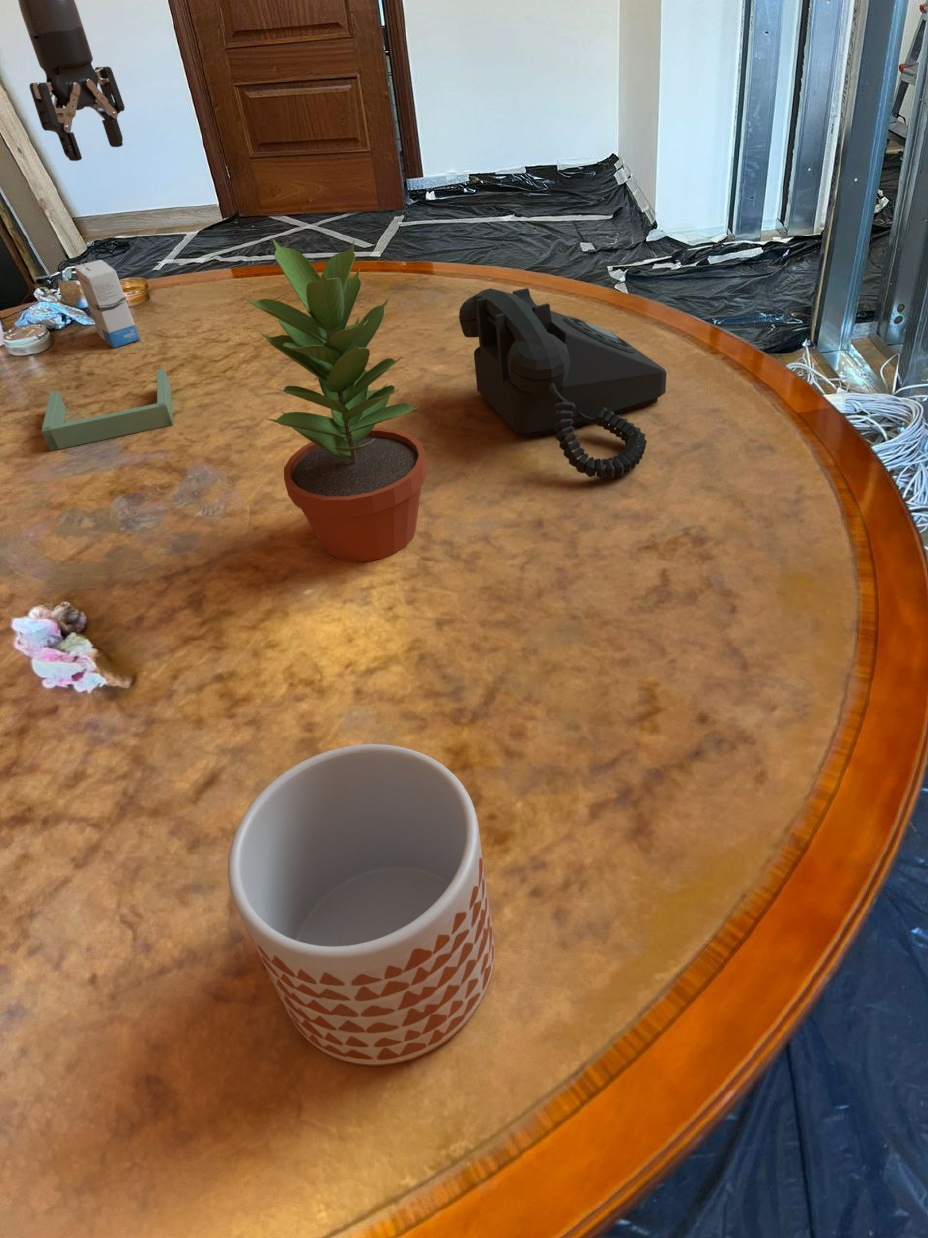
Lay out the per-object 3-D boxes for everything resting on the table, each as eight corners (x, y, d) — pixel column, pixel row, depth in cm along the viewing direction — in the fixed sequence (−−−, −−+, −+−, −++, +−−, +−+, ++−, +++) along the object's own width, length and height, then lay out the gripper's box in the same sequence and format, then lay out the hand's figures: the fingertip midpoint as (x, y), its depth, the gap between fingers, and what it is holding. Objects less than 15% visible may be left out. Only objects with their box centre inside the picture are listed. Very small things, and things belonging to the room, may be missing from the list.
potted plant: (415, 582, 84) (363, 272, 65) (279, 567, 89) (192, 271, 70) (460, 501, 95) (426, 214, 76) (336, 491, 99) (274, 217, 80)
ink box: (141, 340, 144) (116, 268, 136) (112, 349, 142) (85, 276, 135) (126, 327, 150) (101, 257, 142) (98, 335, 148) (72, 265, 140)
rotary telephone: (732, 450, 98) (747, 320, 88) (560, 499, 93) (557, 368, 84) (599, 349, 123) (599, 240, 113) (458, 385, 118) (446, 274, 109)
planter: (293, 875, 60) (245, 754, 52) (487, 854, 59) (470, 730, 51) (269, 1081, 49) (204, 970, 41) (505, 1057, 49) (487, 941, 41)
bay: (58, 411, 125) (49, 391, 123) (171, 387, 127) (164, 368, 126) (50, 451, 115) (41, 431, 113) (173, 424, 118) (166, 404, 116)
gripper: (74, 20, 128) (113, 142, 138) (-4, 35, 119) (44, 164, 129) (110, 18, 125) (147, 142, 135) (32, 33, 116) (78, 165, 126)
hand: (96, 153), depth 132 cm, fingers open, 8 cm apart
